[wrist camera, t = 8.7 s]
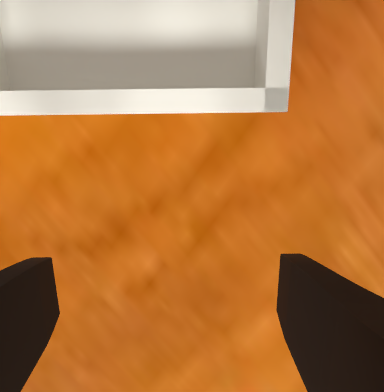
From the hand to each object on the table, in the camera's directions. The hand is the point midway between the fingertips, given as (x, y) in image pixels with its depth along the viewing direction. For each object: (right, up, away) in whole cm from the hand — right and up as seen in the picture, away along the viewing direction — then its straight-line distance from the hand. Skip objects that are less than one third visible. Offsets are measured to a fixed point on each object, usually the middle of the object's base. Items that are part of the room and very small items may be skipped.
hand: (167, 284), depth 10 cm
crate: (-2, +12, +6) cm, 14 cm away
